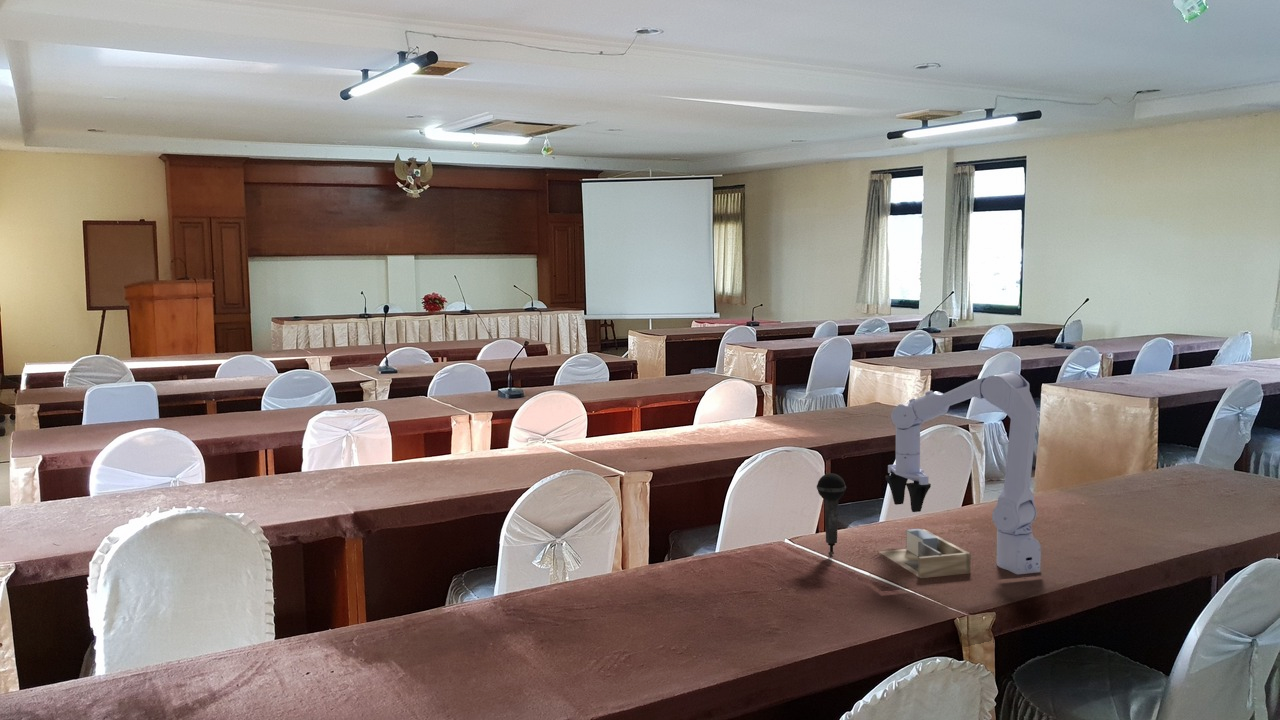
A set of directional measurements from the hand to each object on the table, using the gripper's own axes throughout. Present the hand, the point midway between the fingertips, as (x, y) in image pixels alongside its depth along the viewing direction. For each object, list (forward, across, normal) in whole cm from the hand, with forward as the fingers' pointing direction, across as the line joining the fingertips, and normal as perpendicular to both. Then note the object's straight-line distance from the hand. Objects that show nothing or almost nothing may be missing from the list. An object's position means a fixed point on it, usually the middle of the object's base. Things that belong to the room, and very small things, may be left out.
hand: (907, 507), depth 230 cm
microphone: (+10, -1, +21) cm, 23 cm away
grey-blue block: (+9, -10, +2) cm, 13 cm away
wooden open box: (+10, -14, +5) cm, 18 cm away
